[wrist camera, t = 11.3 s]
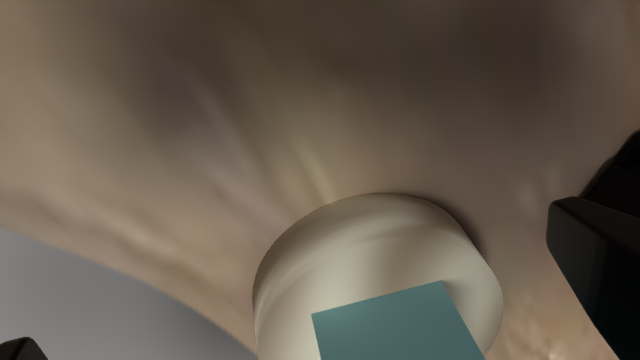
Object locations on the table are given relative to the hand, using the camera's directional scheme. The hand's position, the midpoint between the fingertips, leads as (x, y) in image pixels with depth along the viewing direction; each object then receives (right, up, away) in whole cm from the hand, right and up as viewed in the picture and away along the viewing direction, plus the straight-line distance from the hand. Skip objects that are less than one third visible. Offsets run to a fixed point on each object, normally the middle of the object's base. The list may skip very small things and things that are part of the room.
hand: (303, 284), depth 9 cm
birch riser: (+3, -4, +19) cm, 19 cm away
